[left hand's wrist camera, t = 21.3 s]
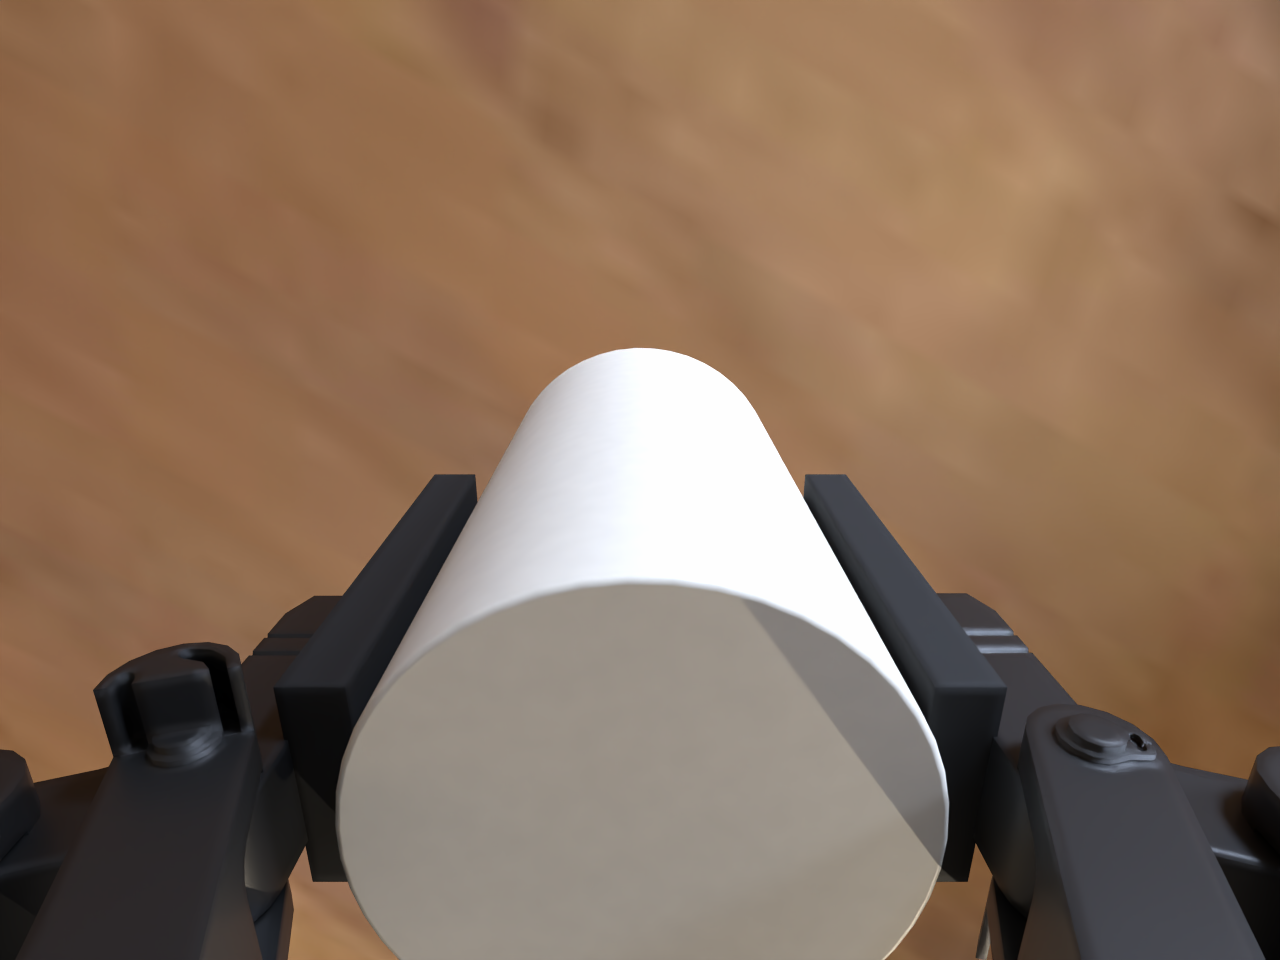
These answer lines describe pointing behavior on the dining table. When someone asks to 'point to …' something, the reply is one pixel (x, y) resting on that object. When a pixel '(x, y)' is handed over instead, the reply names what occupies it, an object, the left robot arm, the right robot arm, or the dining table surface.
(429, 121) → the dining table surface
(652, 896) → the cylinder
